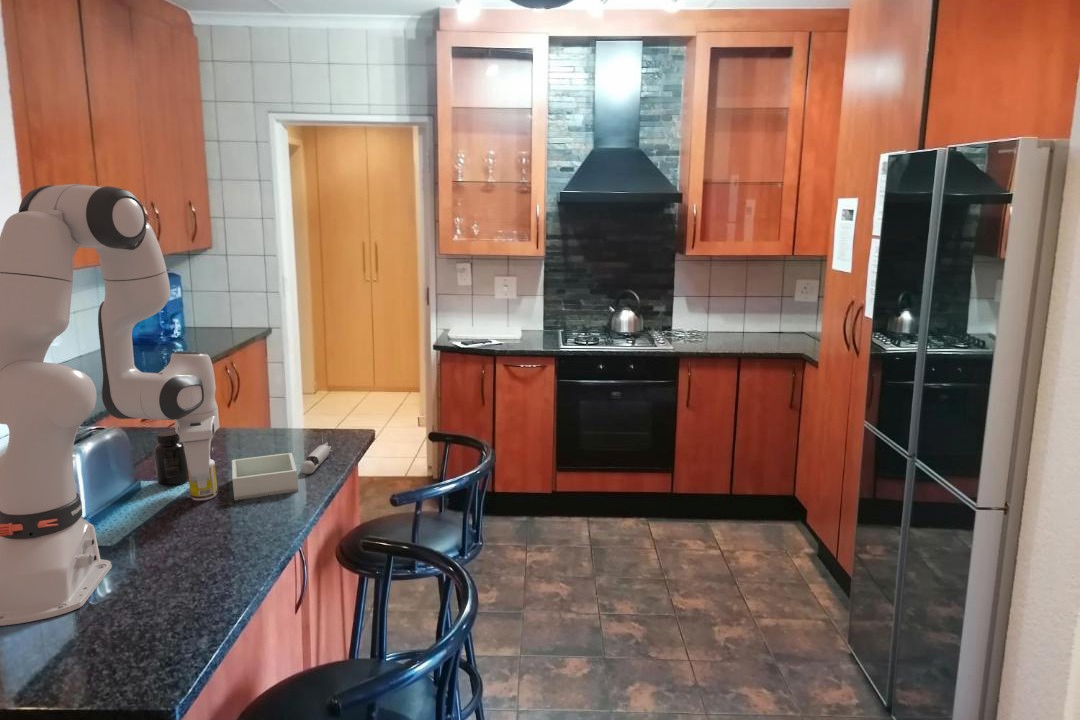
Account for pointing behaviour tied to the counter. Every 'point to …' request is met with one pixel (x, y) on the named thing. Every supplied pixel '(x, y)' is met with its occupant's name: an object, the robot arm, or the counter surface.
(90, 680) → the counter surface
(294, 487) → the bin
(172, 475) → the supplement bottle
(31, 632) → the counter surface
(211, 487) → the supplement bottle
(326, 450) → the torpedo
